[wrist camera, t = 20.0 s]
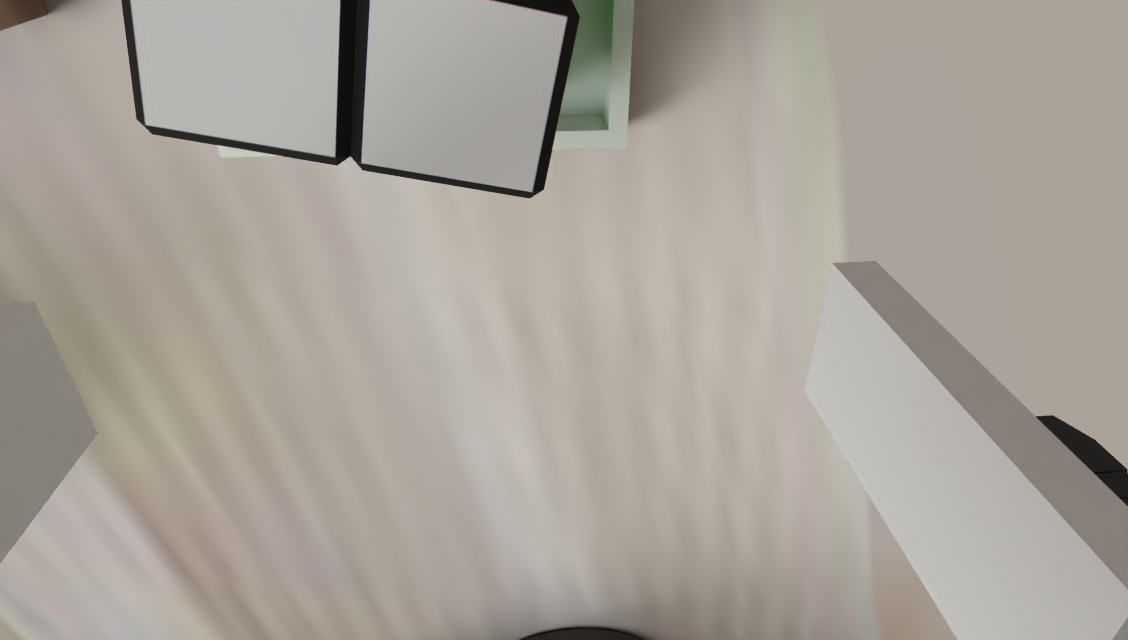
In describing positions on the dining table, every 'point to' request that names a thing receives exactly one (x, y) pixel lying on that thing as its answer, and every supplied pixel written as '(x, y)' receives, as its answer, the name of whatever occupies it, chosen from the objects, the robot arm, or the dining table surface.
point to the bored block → (20, 11)
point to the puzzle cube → (362, 82)
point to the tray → (584, 81)
